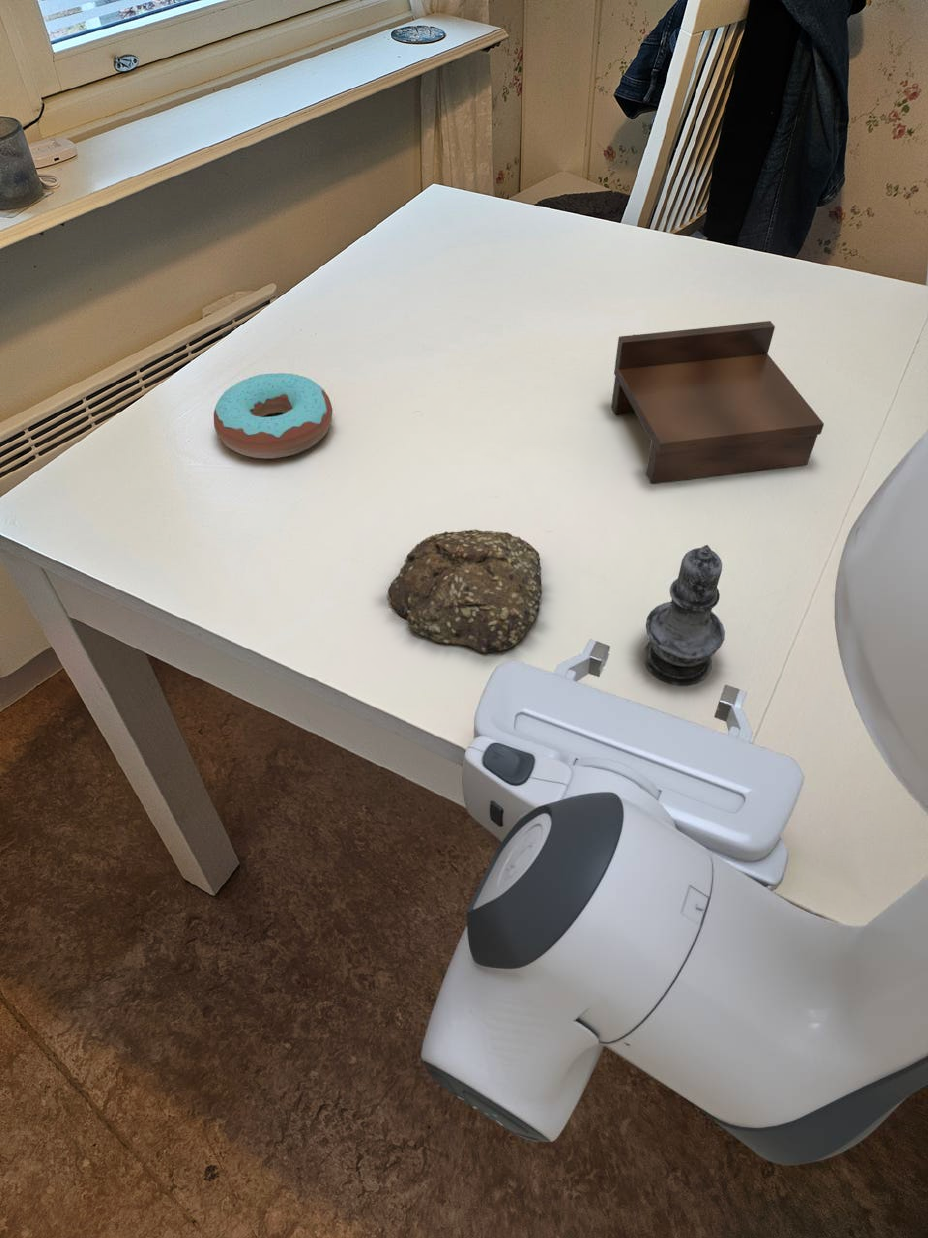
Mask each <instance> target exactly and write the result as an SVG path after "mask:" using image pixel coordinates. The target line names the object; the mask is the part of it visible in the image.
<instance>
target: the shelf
mask: <svg viewBox="0 0 928 1238" xmlns="http://www.w3.org/2000/svg"><path fill="white" fill-rule="evenodd" d="M775 328H776V326H775V325H774V324H773V322H772V321H771V320H767V321H766V320H765V321H757V322H747V323H739V324H738V323H736V324H728V325H718V326H717V325H716V326H708V327H699V328H690V329H689V328H688V329H680V330H679V329H678V330H670V331H659V332H649V333H639V334H631V335H621V336H618V340H617V347H616V355H615V362H614V372H613V375H614V381H613V389H612V397H611V405H610V409H611V410H612V412H613V414H614V416H616V417H618V416H626V415H636V416H637V418H638V420H639V422H640V424H641V425H642V427H643V429H644V431H645V433H646V434H647V436H648V438H649V439H650V442H651V443H650V450H649V455H648V458H647V459H648V460H647V465H646V470H645V475H646V477H647V480H648V481H649V483H650V484H651V485H652V484H660V483H668V482H676V481H683V480H684V481H686V480H693V479H702V478H709V477H717V476H724V475H725V476H726V475H732V474H742V473H749V472H758V471H765V470H766V471H767V470H774V469H775V470H776V469H782V468H790V467H798V466H807V465H808V464H809V461H810V458H811V455H812V452H813V450H814V446H815V443H816V441H817V438H818V436H819V435H821V434H822V431H823V429H824V426H825V424H824V422H823V421H822V419H821V418H820V417H819V416H818V414H817V413H816V412H815V411H814V410H813V408H812V407H811V405H810V404H809V403H808V402H807V401H806V400H805V398H804V397H803V396H802V394H801V393H800V392H799V391H798V389H797V388H796V387H795V386H794V385H793V383H792V382H791V381H790V379H789V378H788V377H787V376H786V374H785V373H784V372H783V371H782V369H780V367H779V366H778V365H777V363H776V362H775V361H774V360H773V358H772V357H771V356H770V354H769V351H770V346H771V343H772V340H773V336H774V333H775V330H776V329H775Z"/></svg>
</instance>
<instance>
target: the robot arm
mask: <svg viewBox="0 0 928 1238" xmlns="http://www.w3.org/2000/svg"><path fill="white" fill-rule="evenodd" d="M833 617H834V629H835V635H836V643H837V647H838V648H837V649H838V654H839V658H840V663H841V666H842V670H843V675H844V677H845V680H846V683H847V686H848V689H849V692H850V693H851V697H852V700H853V702H854V705H855V707H856V709H857V713H858V715H859V717H860V719H861V721H862V723H863V725H864V727H865V730H866V731H867V733H868V736H869V737H870V739H871V741H872V743H873V744H874V746H875V748H876V750H877V751H878V753H879V755H880V757H881V758H882V760H883V762H884V763H885V764H886V766H887V767H888V769H889V770H890V771H891V773H892V775H894V777H895V778H896V780H897V781H898V782H899V783H900V785H901V786H902V787H903V789H904V790H905V791H906V792H907V793H908V794H909V795H910V796H911V798H913V800H914V801H915V802H916V803H917V804H918V805H919V806H920V808H921V809H922V810H923V811H924V813H925V814H926V815H927V816H928V429H927V430H926V431H925V432H924V433H923V434H922V436H920V437H919V439H918V440H917V441H916V442H915V443H914V444H913V446H912V447H911V448H910V449H909V450H908V451H907V452H906V454H904V456H903V457H902V458H901V459H900V461H898V463H897V464H896V466H895V467H894V468H893V469H892V470H891V472H890V473H889V474H888V475H887V477H886V478H885V479H884V480H883V482H882V483H881V484H880V485H879V487H878V488H877V490H876V491H875V492H874V494H873V495H872V496H871V497H870V499H869V501H868V502H867V503H866V505H865V506H864V508H863V509H862V511H861V512H860V513H859V515H858V517H857V518H856V519H855V521H854V523H853V524H852V526H851V528H850V530H849V532H848V534H847V536H846V539H845V541H844V546H843V549H842V552H841V556H840V559H839V563H838V569H837V574H836V578H835V589H834V616H833ZM610 649H611V646H610V645H608V644H606V643H602V642H600V641H597V640H594V639H591V638H590V639H589V640H588V641H587V643H586V645H585V647H584V649H583V650H582V652H581V653H579V654H576V655H574V656H572V657H570V658H568V659H567V660H565V661H563V662H560V663H559V664H557V666H556V667H555V669H554V670H553V672H551V671H548V670H544V669H542V668H540V667H536V666H533V665H530V664H528V663H525V662H523V661H520V660H517V659H516V660H515V659H512V660H508V661H506V662H504V663H501V664H499V665H497V666H496V667H495V668H494V670H493V671H492V673H491V675H490V676H489V678H488V681H487V682H486V683H485V686H484V688H483V691H482V692H481V693H482V694H481V696H480V698H479V701H478V703H477V706H476V709H475V713H474V718H473V739H472V741H471V742H470V743H469V745H468V746H467V747H466V749H465V752H464V756H463V761H462V770H461V788H462V795H463V801H464V806H465V810H466V812H467V813H468V815H470V817H471V818H473V819H474V821H476V822H477V823H478V824H480V825H481V826H482V827H483V828H485V829H486V830H487V831H488V832H489V833H491V834H492V835H493V836H494V837H495V838H496V839H497V840H499V841H500V842H501V843H500V845H499V847H498V848H497V850H496V851H495V853H494V855H493V857H492V859H491V861H490V863H489V865H488V867H487V869H486V871H485V872H484V875H483V877H482V879H481V880H480V883H479V884H478V886H477V889H476V891H475V892H474V895H473V896H472V899H471V901H470V903H469V905H468V906H467V909H466V912H465V916H466V917H465V918H466V925H465V928H464V930H463V932H462V933H461V937H460V939H459V940H458V943H457V945H456V947H455V950H454V953H453V955H452V958H451V960H450V962H449V964H448V967H447V970H446V972H445V975H444V978H443V980H442V983H441V985H440V988H439V992H438V994H437V997H436V1000H435V1003H434V1005H433V1009H432V1011H431V1014H430V1018H429V1021H428V1023H427V1027H426V1031H425V1034H424V1038H423V1041H422V1042H423V1043H422V1046H421V1050H420V1058H421V1061H422V1062H423V1065H424V1067H425V1068H426V1070H427V1073H428V1075H429V1076H430V1077H431V1078H432V1079H433V1080H434V1082H435V1083H437V1084H438V1085H439V1087H441V1088H442V1089H445V1090H447V1092H449V1093H450V1094H451V1095H452V1096H454V1097H455V1098H457V1099H459V1100H460V1101H462V1102H464V1103H465V1104H467V1105H468V1106H469V1107H471V1108H472V1109H474V1110H475V1111H477V1112H479V1113H481V1114H482V1115H484V1116H485V1117H486V1118H488V1119H490V1120H491V1121H493V1122H495V1123H497V1124H498V1125H500V1126H502V1127H504V1129H505V1130H507V1131H509V1132H510V1133H512V1134H514V1135H515V1136H517V1137H520V1138H522V1139H525V1140H527V1141H531V1142H535V1143H539V1142H541V1143H549V1142H550V1143H552V1142H554V1141H556V1140H557V1139H558V1137H559V1136H560V1134H561V1133H562V1131H563V1130H564V1129H565V1127H566V1125H567V1123H568V1122H569V1120H570V1118H571V1116H572V1114H573V1113H574V1110H575V1109H576V1108H577V1105H578V1103H579V1101H580V1099H581V1097H582V1095H583V1093H584V1091H585V1089H586V1087H587V1085H588V1083H589V1081H590V1078H591V1076H592V1075H593V1072H594V1071H595V1070H594V1069H595V1068H596V1065H597V1064H598V1061H599V1059H600V1057H601V1055H602V1052H603V1050H604V1048H606V1049H608V1050H610V1051H612V1052H613V1053H614V1054H616V1055H618V1056H619V1057H621V1058H622V1059H624V1060H626V1061H627V1062H629V1063H631V1064H632V1065H633V1066H635V1067H636V1068H638V1069H640V1070H641V1071H643V1072H644V1073H646V1074H647V1075H649V1076H650V1077H652V1078H653V1079H655V1080H657V1081H658V1082H660V1083H661V1084H663V1085H664V1086H665V1087H667V1088H669V1089H671V1090H672V1091H674V1092H675V1093H676V1094H678V1095H680V1096H681V1097H683V1098H684V1099H685V1100H687V1101H689V1102H691V1103H692V1104H694V1105H695V1106H697V1107H698V1109H700V1111H701V1112H702V1113H703V1114H705V1115H706V1116H707V1117H709V1118H710V1119H711V1120H713V1121H714V1122H715V1123H716V1124H717V1125H719V1126H720V1127H722V1128H723V1129H725V1131H727V1132H728V1133H729V1134H731V1135H732V1136H733V1137H735V1138H736V1139H737V1140H738V1141H740V1142H741V1143H742V1144H744V1145H745V1146H746V1147H747V1148H749V1149H750V1150H752V1152H754V1153H755V1154H756V1155H758V1156H759V1157H761V1158H762V1159H763V1160H766V1161H768V1162H770V1163H773V1164H776V1165H780V1166H781V1165H782V1166H801V1165H806V1164H810V1163H815V1162H819V1161H824V1160H828V1159H829V1158H833V1157H835V1156H837V1155H839V1154H843V1153H844V1152H845V1151H849V1150H850V1149H851V1148H854V1146H857V1144H859V1143H861V1142H862V1141H863V1140H865V1139H866V1138H867V1137H868V1136H870V1135H871V1134H872V1133H873V1132H874V1131H875V1130H876V1129H877V1128H878V1127H879V1126H880V1125H882V1124H883V1122H884V1121H885V1120H887V1118H888V1117H889V1116H890V1115H891V1114H892V1113H893V1112H894V1111H895V1110H896V1109H897V1108H898V1107H899V1106H900V1105H901V1104H902V1103H903V1102H904V1101H905V1100H906V1099H907V1098H909V1097H910V1096H911V1095H913V1094H914V1093H916V1092H918V1091H919V1090H921V1089H923V1088H924V1087H926V1086H928V873H927V874H926V875H924V877H922V878H921V879H920V880H919V881H917V882H916V883H915V884H914V885H913V886H911V887H910V888H909V889H908V890H907V891H905V892H904V893H902V895H901V896H899V897H898V898H896V900H894V901H893V902H892V903H890V904H889V905H888V906H887V907H886V908H884V910H882V911H881V912H880V913H879V914H877V915H876V916H875V917H874V918H872V919H871V920H869V922H868V923H866V924H865V925H851V924H846V923H841V922H837V921H833V920H831V919H828V918H824V917H821V916H819V915H816V914H814V913H811V912H809V911H807V910H804V909H802V908H801V907H799V906H796V905H795V904H792V903H791V902H789V901H787V900H786V899H785V898H782V896H780V895H778V894H777V893H775V892H774V891H775V890H777V889H778V888H779V887H780V886H781V885H782V883H783V880H784V877H785V874H786V870H787V865H788V861H789V854H788V853H789V852H788V847H787V845H786V843H785V841H784V840H783V838H782V835H783V833H784V831H785V829H786V827H787V825H788V823H789V821H790V820H791V819H790V818H791V816H792V815H793V812H794V810H795V807H796V806H797V803H798V800H799V797H800V794H801V791H802V789H803V786H804V782H805V775H804V773H803V771H802V769H801V767H800V764H799V763H798V762H797V760H796V759H795V758H793V757H791V756H788V755H786V754H783V753H781V752H777V751H775V750H772V749H770V748H766V747H763V746H760V745H757V744H754V743H752V742H751V740H752V737H753V734H754V732H753V730H752V727H751V724H750V722H749V720H748V718H747V715H746V713H745V709H743V705H744V703H745V699H746V696H747V693H748V692H747V690H743V689H740V688H737V687H734V686H731V685H728V684H724V686H723V689H722V692H721V695H720V697H719V701H718V703H717V707H716V709H715V713H714V715H713V718H715V719H717V720H721V721H723V722H725V724H726V727H727V731H728V733H727V734H726V733H723V732H722V731H721V732H720V731H718V730H715V729H713V728H709V727H706V726H703V725H701V724H698V723H696V722H693V721H690V720H686V719H684V718H681V717H678V716H675V715H672V714H670V713H667V712H664V711H661V710H658V709H655V708H652V707H649V706H647V705H644V704H641V703H638V702H636V701H633V700H629V699H627V698H624V697H621V696H619V695H616V694H613V693H610V692H607V691H604V690H601V689H599V688H597V687H593V686H590V685H588V684H585V683H582V682H579V681H580V680H581V679H583V678H585V677H587V676H588V675H590V676H594V677H597V678H600V677H601V675H602V673H603V670H604V667H605V666H606V665H607V662H608V659H609V652H610Z"/></svg>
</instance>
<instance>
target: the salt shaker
mask: <svg viewBox="0 0 928 1238" xmlns="http://www.w3.org/2000/svg"><path fill="white" fill-rule="evenodd" d="M722 571H723V561H722V559H721V558H720V556H719V555H718V553H716V552H715V551H714V550H712V548H711V547H710V546H709V545H708V544H706V545H703V546H701V547H697V548H693V549H691V550H689V551H687V552H686V553H685V554H684V556H683V558H682V559H681V563H680V567H679V571H678V576H677V578H676V579H674V580H673V582H672V583H671V584H670V585H669V597H670V598H671V601H666V602H663V603H660V604H659V605H657V606H656V607H655V608H653V609H652V610H651V611H650V612H649V614H648V616H647V618H646V621H645V630H646V634H647V636H648V640H649V641H648V642H647V643H646V644H645V647H644V649H643V655H642V656H643V657H642V658H643V663H644V664H645V666H646V668H647V670H648V671H649V672H650V673H651V674H652V675H653V676H654V677H655V678H657V679H659V680H660V681H662V682H664V683H667V684H670V685H675V686H690V685H694V684H697V683H700V682H702V681H703V680H704V679H705V678H706V677H708V675H709V674H710V672H711V670H712V665H713V664H712V663H713V660H712V656H713V655H714V654H715V653H716V652H717V651H719V650H720V649H721V648H722V646H723V644H724V641H725V638H726V637H725V635H726V630H725V627H724V624H723V622H722V620H721V619H720V618H719V617H718V615H716V613H714V612H713V609H714V608H715V607H716V606H718V603H719V601H720V596H721V594H720V591H719V588H718V585H719V582H720V579H721V575H722Z"/></svg>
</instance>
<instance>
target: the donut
mask: <svg viewBox="0 0 928 1238" xmlns="http://www.w3.org/2000/svg"><path fill="white" fill-rule="evenodd" d="M278 413H281V414H278ZM271 414H278V415H273V416H266V415H271ZM332 420H333V406H332V402H331V400H330V396H329V395H328V394H327V393H326V391H325V390H324V388H323V387H322V386H321V385H319V384H318V383H316V382H315V381H314V380H312V379H311V378H308V377H306V376H303V375H299V374H294V373H287V372H286V373H283V372H279V373H262V374H257V375H255V376H250V377H248V378H246V379H243V380H241V381H239V382H237V383H236V384H234V385H232V386H230V387H229V388H227V390H225V391H224V392H223V394H221V396H220V397H219V398H218V400H217V403H216V404H215V407H214V411H213V425H214V426H213V427H214V429H215V431H216V434H217V436H218V438H220V439H221V441H222V442H223V444H224V445H225V446H226V447H227V448H229V449H230V450H232V451H233V452H235V453H238V454H240V455H243V456H245V457H250V458H253V459H264V460H265V459H281V458H286V457H289V456H293V455H297V454H299V453H302V452H304V451H306V450H309V449H311V448H312V447H313V446H315V445H316V444H318V443H319V442H320V441H321V440H322V439H323V438H324V437H325V436H326V434H327V433H328V431H329V429H330V426H331V422H332Z"/></svg>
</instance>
